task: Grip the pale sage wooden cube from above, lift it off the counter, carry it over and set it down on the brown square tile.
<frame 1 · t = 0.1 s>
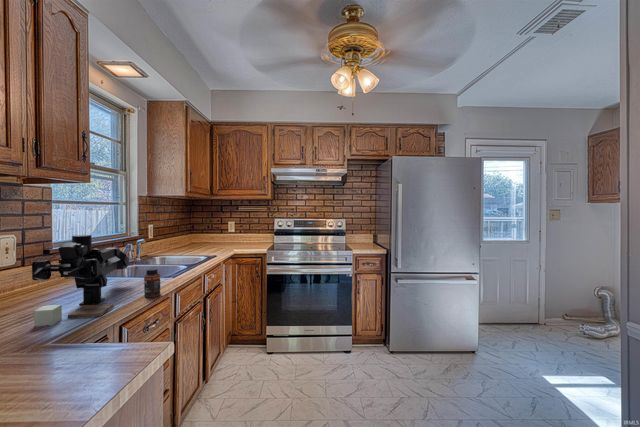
hand: (51, 275, 98), 17 cm above the counter, tool horizontal, fingers open, 9 cm apart
supplement bottle: (152, 296, 133), on the counter
cube: (48, 323, 103), on the counter
brown square tile: (91, 312, 113), on the counter
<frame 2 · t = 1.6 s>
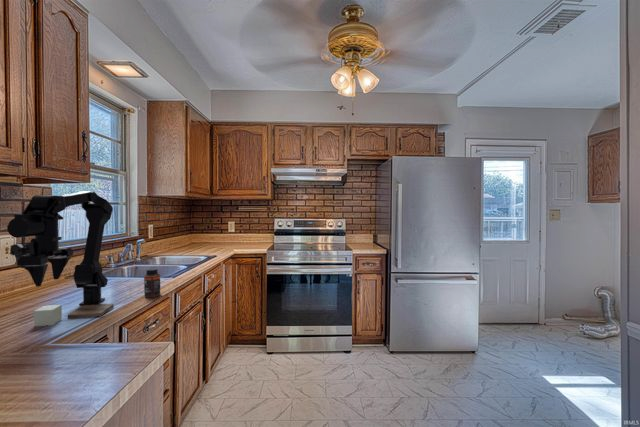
hand: (47, 282, 103), 13 cm above the counter, tool pointing down, fingers open, 9 cm apart
nothing on the counter moved.
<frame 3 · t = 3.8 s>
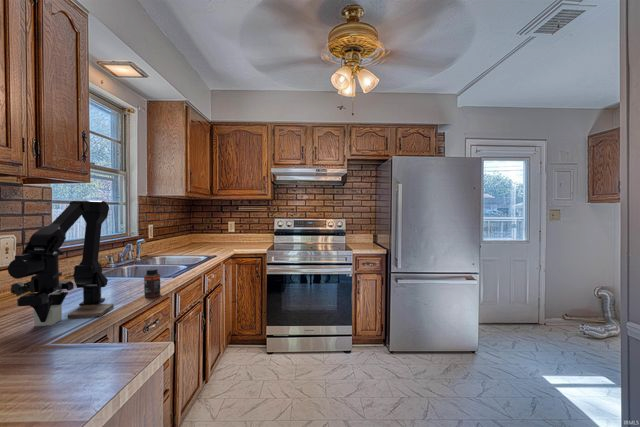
hand: (48, 318, 103), 1 cm above the counter, tool pointing down, fingers closed on cube, 5 cm apart
cube: (48, 322, 103), on the counter, touching gripper
everything else where it was.
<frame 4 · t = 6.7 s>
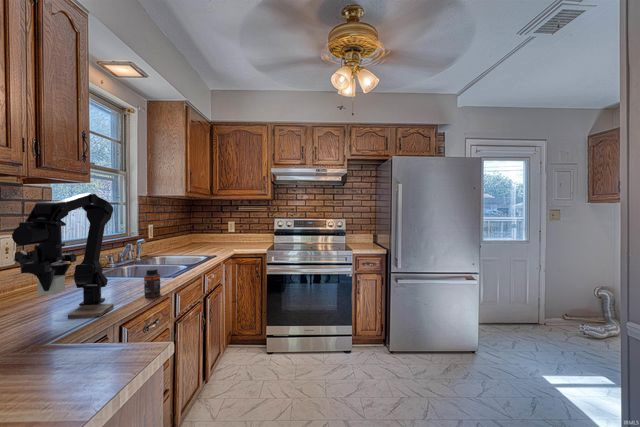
hand: (51, 288, 104), 11 cm above the counter, tool pointing down, fingers closed on cube, 5 cm apart
cube: (51, 292, 104), point 10 cm above the counter, touching gripper
everything else where it was.
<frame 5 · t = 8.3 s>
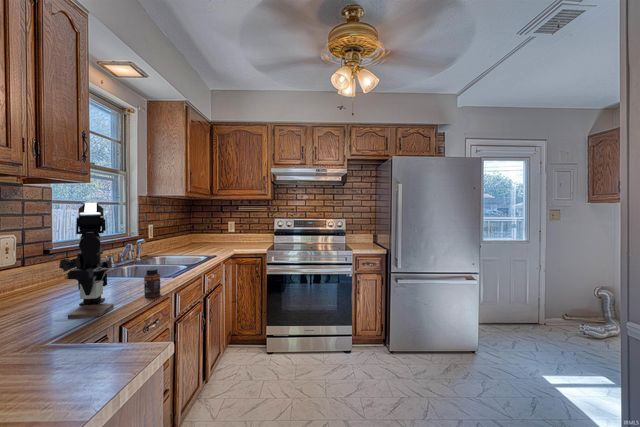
hand: (91, 293, 113), 7 cm above the counter, tool pointing down, fingers closed on cube, 5 cm apart
cube: (91, 296, 113), point 6 cm above the counter, touching gripper
everything else where it was.
when the fingers open (4 cm above the counter, at t = 9.6 s): cube drops 1 cm, resting on brown square tile.
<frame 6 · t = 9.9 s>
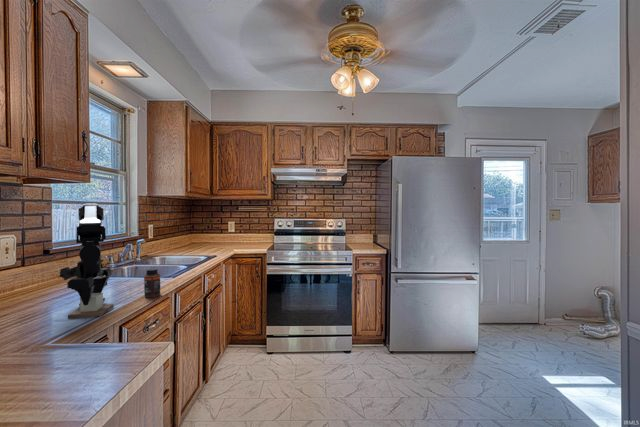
hand: (91, 301, 113), 4 cm above the counter, tool pointing down, fingers open, 8 cm apart
cube: (91, 308, 113), point 1 cm above the counter, touching brown square tile
everything else where it was.
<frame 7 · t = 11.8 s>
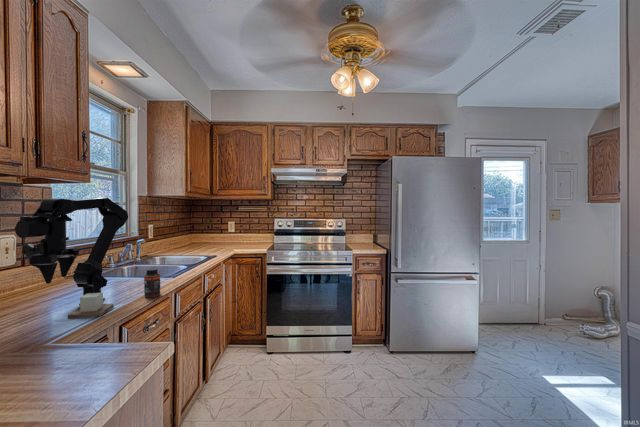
hand: (56, 280, 110), 12 cm above the counter, tool pointing down, fingers open, 9 cm apart
nothing on the counter moved.
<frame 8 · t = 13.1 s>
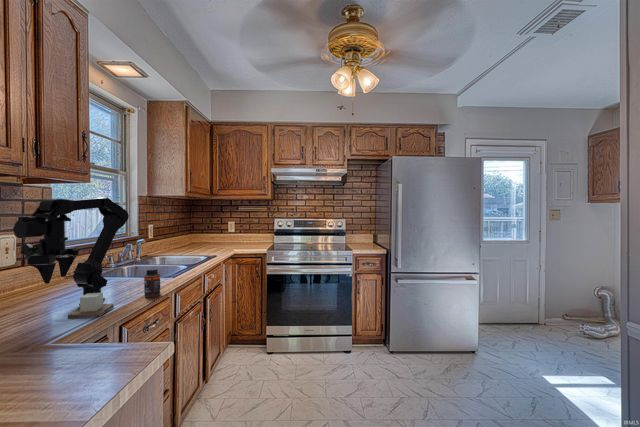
hand: (55, 280, 110), 12 cm above the counter, tool pointing down, fingers open, 9 cm apart
nothing on the counter moved.
at the end: cube inside the target area on the brown square tile (0.0 cm from its centre), point 1.2 cm above the brown square tile's base; cube tilted 0°; the gripper is holding nothing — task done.
